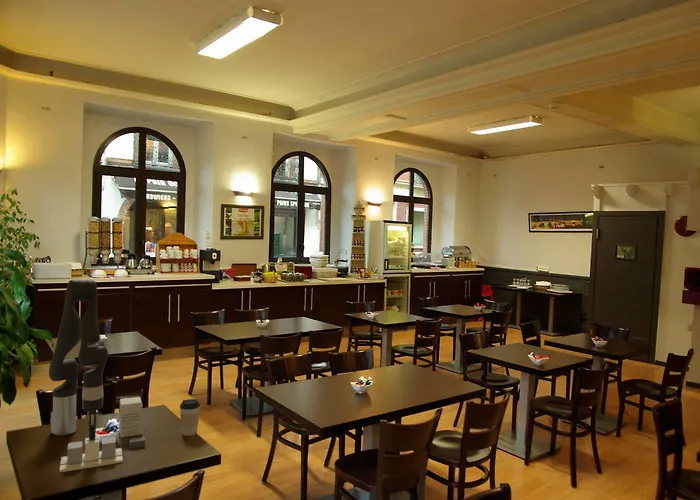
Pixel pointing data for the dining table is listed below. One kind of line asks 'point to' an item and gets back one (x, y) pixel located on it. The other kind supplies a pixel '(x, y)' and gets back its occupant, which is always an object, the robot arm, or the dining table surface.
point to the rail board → (77, 460)
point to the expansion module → (91, 449)
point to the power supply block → (137, 442)
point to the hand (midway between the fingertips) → (92, 438)
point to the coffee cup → (189, 416)
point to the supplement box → (130, 416)
